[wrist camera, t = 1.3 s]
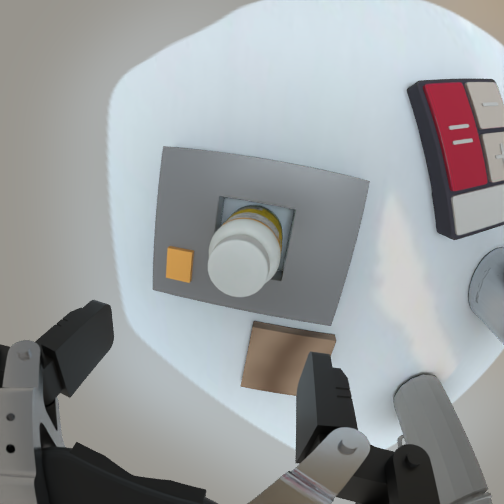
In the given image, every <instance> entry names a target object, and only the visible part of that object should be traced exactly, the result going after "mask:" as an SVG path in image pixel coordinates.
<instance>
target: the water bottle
mask: <svg viewBox="0 0 504 504" xmlns="http://www.w3.org/2000/svg"><path fill="white" fill-rule="evenodd" d="M394 407H395V410H396V413H397V416H398V419H399V422H400V426H401V429H402V432H403V435H401V436H400V437H399V438H398V448H399V447H400V446H402V439H403V438H404V439H405V442H406V444H414V445H417V446H419V447H421V448H423V449H424V450H425V451H426V452H427V453H428V455H429V457H430V460H431V464H432V468H433V473H434V477H435V481H436V486H437V490H438V495H439V500H440V504H492V500H491V497H492V496H491V494H490V493H488V492H487V493H485V492H486V491H487V489H488V487H487V484H486V481H485V479H484V476H483V473H482V471H481V468H480V466H479V463H478V461H477V458H476V456H475V454H474V451H473V449H472V446H471V445H470V442H469V440H468V437H467V436H466V433H465V431H464V429H463V427H462V424H461V422H460V420H459V418H458V416H457V414H456V412H455V410H454V408H453V406H452V404H451V402H450V400H449V398H448V396H447V394H446V392H445V390H444V388H443V386H442V385H441V383H440V381H439V380H438V379H437V378H436V377H435V376H433V375H420V376H418V377H415V378H412V379H410V380H409V381H408V382H406V383H405V384H404V385H402V386H401V387H400V389H399V390H398V392H397V393H396V395H395V397H394Z"/></svg>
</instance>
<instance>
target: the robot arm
mask: <svg viewBox="0 0 504 504" xmlns="http://www.w3.org/2000/svg"><path fill="white" fill-rule="evenodd" d="M469 303H470V307H471V309H472V311H473V312H474V313H475V314H476V315H477V316H478V317H479V318H480V319H481V320H482V321H483V323H484V324H485V325H486V326H487V327H488V328H489V329H490V330H491V331H492V332H493V334H494V335H495V336H496V337H497V338H498V339H499V340H500V341H501V342H502V344H503V345H504V248H498V249H495V250H493V251H492V252H490V253H489V254H488V255H487V256H486V257H484V259H483V260H482V261H481V262H480V264H479V266H478V267H477V269H476V271H475V273H474V275H473V277H472V281H471V284H470V289H469ZM113 340H114V331H113V322H112V311H111V307H110V305H108V304H105V303H102V302H99V301H96V300H92V301H90V302H89V303H88V304H87V305H86V306H84V307H83V308H79V309H76V310H74V311H72V312H70V313H69V314H67V315H66V316H65V317H64V318H63V320H60V321H59V322H58V323H57V325H54V326H53V327H52V328H51V329H50V330H48V331H47V332H46V333H45V334H44V335H42V336H41V337H40V338H39V339H38V340H37V341H36V342H33V341H30V340H23V341H19V342H16V343H15V344H13V345H12V346H11V347H8V346H4V345H0V504H218V503H216V502H214V501H212V500H210V499H208V498H206V497H205V496H206V490H205V489H201V488H196V487H192V486H188V485H185V484H181V483H178V482H174V481H171V480H161V479H153V478H145V477H138V476H133V475H131V474H130V473H128V472H127V471H125V470H124V469H122V468H121V467H119V466H118V465H117V464H115V463H114V462H112V461H111V460H110V459H108V458H107V457H106V456H104V455H102V454H100V453H98V452H96V451H93V450H92V449H90V448H88V447H86V446H84V445H82V444H80V443H78V442H76V444H75V445H74V447H73V448H66V447H65V445H64V443H63V439H62V434H61V425H60V416H59V403H58V399H57V396H58V394H59V393H62V394H64V395H66V396H68V397H71V396H72V395H73V394H74V392H75V391H76V390H77V389H78V387H79V386H80V385H81V383H82V382H83V381H84V380H85V379H86V377H87V376H88V375H89V374H90V373H91V371H92V370H93V369H94V368H95V367H96V365H97V364H98V363H99V362H100V360H101V359H102V358H103V357H104V356H105V355H106V353H107V352H108V351H109V350H110V348H111V346H112V344H113ZM349 389H350V387H349V382H348V378H347V377H346V375H345V374H344V373H343V371H342V370H341V369H340V368H332V363H331V357H330V354H325V353H318V352H311V351H310V352H309V354H308V357H307V360H306V362H305V365H304V368H303V371H302V374H301V377H300V379H299V382H298V387H297V394H296V463H300V464H299V465H298V466H297V467H296V468H295V469H294V470H292V471H291V472H290V471H288V472H287V473H285V474H284V475H282V476H281V477H280V478H279V479H278V480H276V481H275V482H274V483H273V484H272V485H270V486H269V487H268V488H267V489H266V490H264V491H263V492H262V493H261V494H259V495H258V496H257V497H256V498H255V499H253V500H252V501H250V502H249V503H248V504H331V503H332V502H333V499H334V498H335V497H339V498H342V499H346V500H350V501H354V502H356V504H440V500H439V495H438V490H437V486H436V481H435V477H434V473H433V468H432V464H431V460H430V457H429V455H428V453H427V452H426V451H425V450H424V449H423V448H421V447H419V446H417V445H414V444H406V445H402V446H400V447H399V448H398V449H397V450H396V451H395V452H393V451H389V450H385V449H381V448H377V447H374V446H372V445H370V443H369V440H368V439H367V437H366V436H365V435H364V434H363V433H362V432H360V431H358V428H357V422H356V417H355V412H354V407H353V402H352V399H351V392H350V390H349Z"/></svg>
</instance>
